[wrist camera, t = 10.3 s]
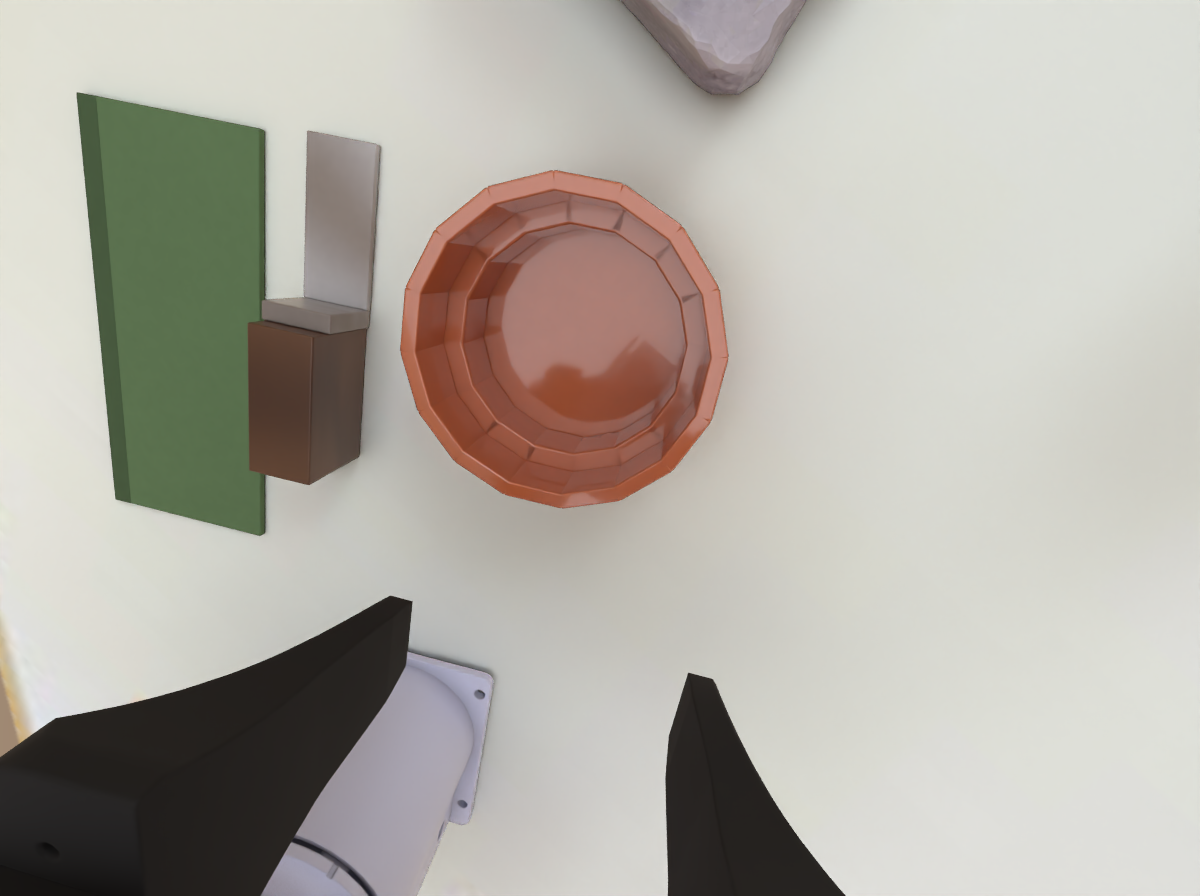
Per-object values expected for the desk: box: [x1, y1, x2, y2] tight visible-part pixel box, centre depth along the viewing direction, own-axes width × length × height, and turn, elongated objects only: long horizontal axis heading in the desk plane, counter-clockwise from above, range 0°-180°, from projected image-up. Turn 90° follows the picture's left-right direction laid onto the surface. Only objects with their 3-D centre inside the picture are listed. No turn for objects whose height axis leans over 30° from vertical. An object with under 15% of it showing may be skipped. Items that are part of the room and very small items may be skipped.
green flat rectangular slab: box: [77, 93, 265, 536], centre depth 23 cm, size 17×7×1 cm, turn 169°
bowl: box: [400, 170, 729, 508], centre depth 18 cm, size 10×10×5 cm
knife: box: [248, 131, 380, 485], centre depth 20 cm, size 12×3×3 cm, turn 169°
